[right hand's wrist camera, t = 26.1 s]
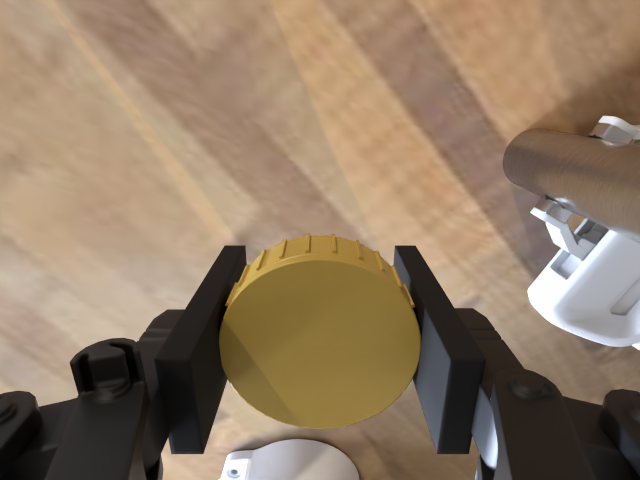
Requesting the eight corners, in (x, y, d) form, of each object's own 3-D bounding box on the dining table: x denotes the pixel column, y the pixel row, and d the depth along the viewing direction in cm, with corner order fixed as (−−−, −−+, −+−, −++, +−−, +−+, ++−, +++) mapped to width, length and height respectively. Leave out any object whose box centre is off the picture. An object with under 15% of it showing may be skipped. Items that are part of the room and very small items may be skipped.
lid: (266, 405, 14) (259, 449, 12) (200, 262, 12) (180, 291, 10) (426, 365, 13) (442, 405, 11) (384, 208, 11) (396, 228, 9)
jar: (514, 196, 34) (685, 289, 18) (493, 148, 33) (659, 204, 17) (568, 167, 33) (798, 238, 17) (549, 116, 32) (781, 143, 16)
